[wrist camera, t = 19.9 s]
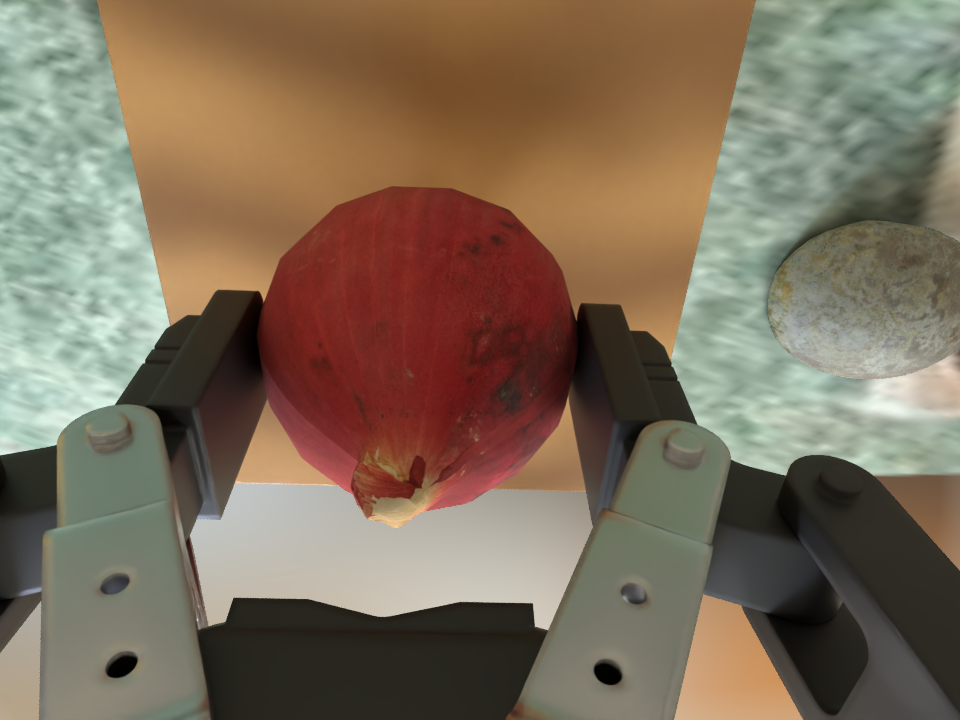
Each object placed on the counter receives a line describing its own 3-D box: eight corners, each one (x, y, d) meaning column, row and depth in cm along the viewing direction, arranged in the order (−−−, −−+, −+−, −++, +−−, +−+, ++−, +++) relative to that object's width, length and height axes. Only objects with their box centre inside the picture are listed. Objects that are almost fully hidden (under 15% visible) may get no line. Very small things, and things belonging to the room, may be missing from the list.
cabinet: (222, -129, 20) (64, -138, 12) (659, -104, 21) (779, -97, 13) (278, 315, 28) (204, 483, 20) (591, 325, 29) (639, 493, 21)
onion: (514, 94, 14) (552, 273, 8) (582, 324, 18) (651, 593, 11) (257, 183, 15) (99, 410, 9) (365, 386, 19) (306, 668, 12)
